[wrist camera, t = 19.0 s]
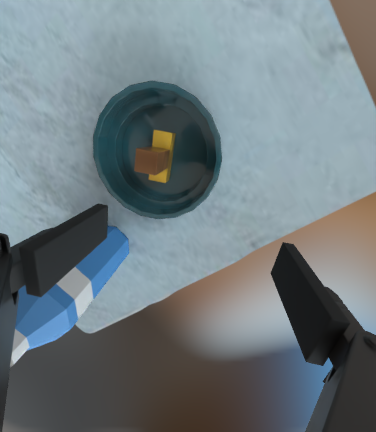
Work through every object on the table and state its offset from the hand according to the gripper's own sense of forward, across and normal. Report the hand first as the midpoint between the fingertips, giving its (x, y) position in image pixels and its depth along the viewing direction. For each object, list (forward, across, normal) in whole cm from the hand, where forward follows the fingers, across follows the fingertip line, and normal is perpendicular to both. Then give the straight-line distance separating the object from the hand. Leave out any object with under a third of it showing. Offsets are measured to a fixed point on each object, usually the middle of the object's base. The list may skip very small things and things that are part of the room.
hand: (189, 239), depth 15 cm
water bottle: (+24, -18, -18) cm, 35 cm away
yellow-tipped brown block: (+23, -8, +3) cm, 24 cm away
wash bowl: (+24, -8, +3) cm, 25 cm away
